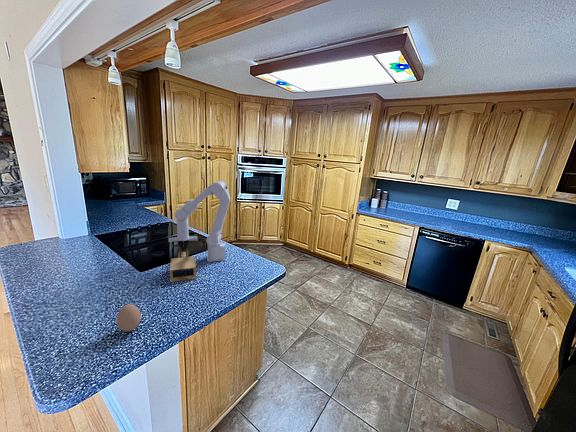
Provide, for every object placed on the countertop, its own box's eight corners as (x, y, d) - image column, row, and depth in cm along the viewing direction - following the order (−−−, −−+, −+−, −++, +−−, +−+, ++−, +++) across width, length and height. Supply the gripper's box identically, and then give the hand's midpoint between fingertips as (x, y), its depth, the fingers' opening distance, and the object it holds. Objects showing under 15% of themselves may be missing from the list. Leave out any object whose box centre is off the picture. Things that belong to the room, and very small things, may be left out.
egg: (116, 328, 77) (113, 304, 75) (138, 319, 82) (136, 297, 80) (120, 340, 73) (117, 315, 71) (144, 330, 77) (142, 306, 75)
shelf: (195, 267, 121) (194, 256, 120) (196, 278, 111) (195, 267, 109) (171, 269, 117) (171, 258, 115) (170, 281, 106) (169, 269, 105)
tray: (188, 257, 131) (188, 249, 130) (188, 267, 120) (188, 259, 119) (178, 258, 129) (178, 250, 128) (178, 269, 118) (177, 260, 117)
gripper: (196, 227, 134) (197, 249, 138) (168, 228, 129) (169, 251, 132) (197, 231, 128) (197, 254, 131) (167, 232, 122) (169, 256, 126)
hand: (183, 253), depth 131 cm, fingers closed, pressing on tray
